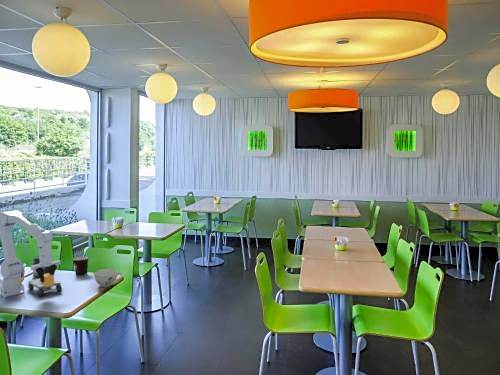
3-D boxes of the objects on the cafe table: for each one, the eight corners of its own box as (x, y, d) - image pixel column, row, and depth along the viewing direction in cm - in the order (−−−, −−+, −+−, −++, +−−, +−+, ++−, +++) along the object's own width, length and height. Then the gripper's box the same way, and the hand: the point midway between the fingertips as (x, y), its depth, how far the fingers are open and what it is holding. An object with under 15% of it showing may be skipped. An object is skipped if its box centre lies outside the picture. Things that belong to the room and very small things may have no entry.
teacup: (95, 290, 232) (94, 276, 231) (93, 284, 243) (92, 270, 242) (124, 286, 238) (123, 272, 238) (120, 280, 249) (120, 267, 249)
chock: (46, 286, 216) (45, 277, 216) (40, 284, 220) (40, 275, 220) (54, 284, 219) (53, 275, 219) (48, 282, 223) (48, 273, 223)
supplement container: (53, 273, 266) (52, 254, 265) (50, 278, 256) (49, 258, 255) (35, 275, 264) (34, 255, 263) (31, 279, 253) (30, 259, 252)
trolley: (40, 298, 220) (40, 287, 220) (27, 289, 235) (27, 279, 234) (62, 293, 228) (61, 283, 228) (48, 285, 242) (48, 275, 242)
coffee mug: (73, 273, 266) (73, 257, 265) (88, 271, 269) (87, 256, 269) (74, 278, 255) (73, 261, 254) (89, 276, 259) (88, 260, 258)
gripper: (34, 258, 211) (36, 285, 212) (63, 253, 222) (64, 278, 223) (28, 256, 215) (29, 283, 216) (56, 251, 226) (57, 276, 227)
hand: (46, 280), depth 220 cm, fingers closed on chock, 4 cm apart
